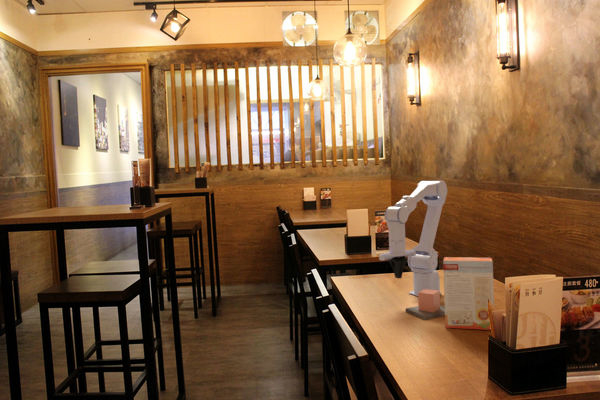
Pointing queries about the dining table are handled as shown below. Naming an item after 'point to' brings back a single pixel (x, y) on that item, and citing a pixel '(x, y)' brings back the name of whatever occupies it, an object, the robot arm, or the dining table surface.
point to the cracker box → (468, 292)
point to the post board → (426, 312)
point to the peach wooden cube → (429, 300)
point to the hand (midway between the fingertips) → (398, 277)
